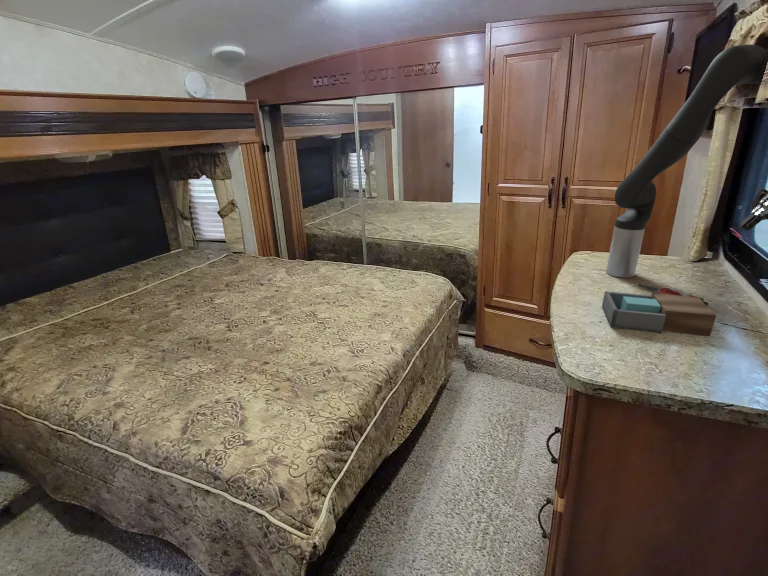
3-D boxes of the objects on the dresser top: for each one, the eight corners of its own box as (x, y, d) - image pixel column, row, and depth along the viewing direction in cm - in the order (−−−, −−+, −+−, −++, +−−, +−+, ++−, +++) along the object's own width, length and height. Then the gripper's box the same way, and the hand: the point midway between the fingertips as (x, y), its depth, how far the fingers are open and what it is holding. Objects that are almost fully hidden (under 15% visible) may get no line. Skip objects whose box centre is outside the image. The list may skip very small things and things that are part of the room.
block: (651, 315, 115) (619, 312, 117) (655, 299, 113) (623, 296, 115) (656, 323, 110) (623, 319, 113) (661, 306, 109) (627, 303, 111)
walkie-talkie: (709, 306, 123) (638, 287, 138) (713, 292, 121) (640, 275, 136) (698, 314, 118) (626, 293, 133) (703, 300, 116) (628, 281, 131)
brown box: (648, 312, 119) (652, 293, 116) (692, 316, 115) (698, 297, 113) (660, 331, 108) (665, 310, 106) (709, 336, 105) (716, 315, 103)
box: (601, 306, 123) (604, 291, 121) (647, 311, 119) (651, 295, 118) (610, 327, 111) (613, 310, 109) (661, 333, 107) (666, 315, 105)
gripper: (784, 153, 99) (719, 211, 109) (817, 167, 88) (742, 230, 98) (810, 170, 99) (743, 226, 109) (846, 186, 88) (768, 246, 98)
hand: (743, 228), depth 103 cm, fingers closed
